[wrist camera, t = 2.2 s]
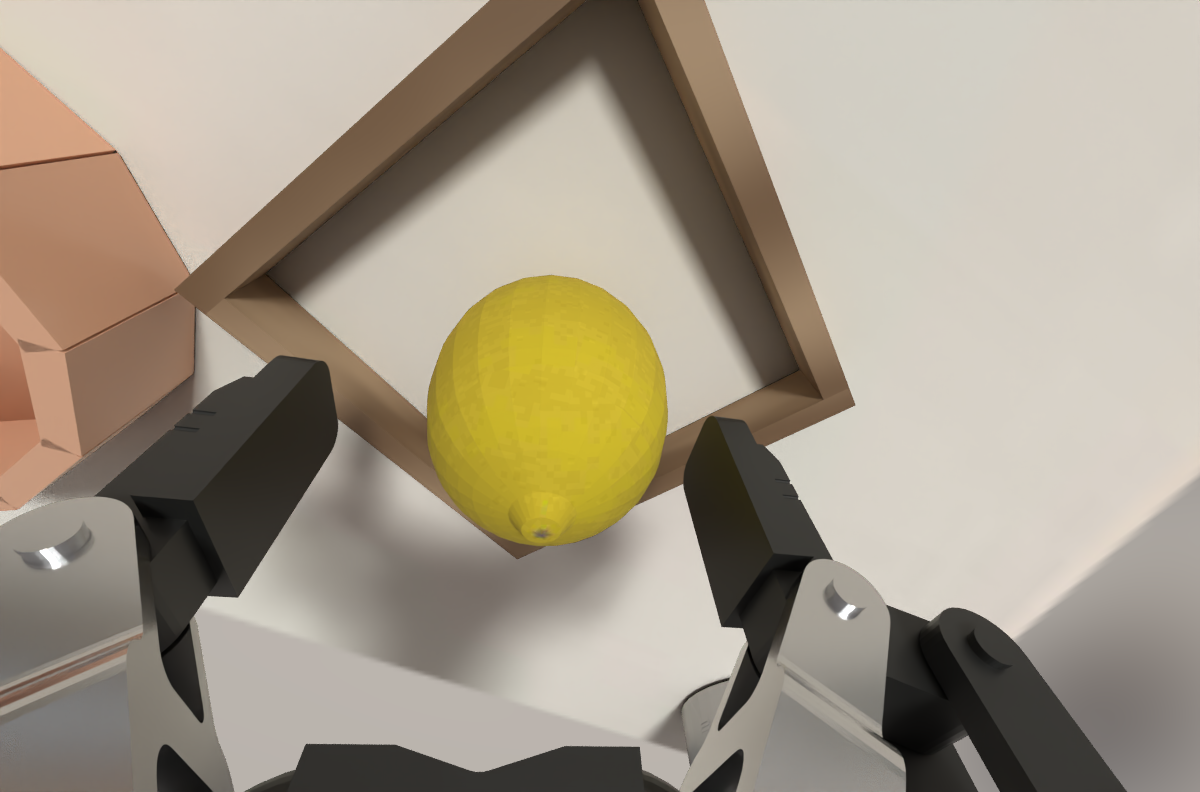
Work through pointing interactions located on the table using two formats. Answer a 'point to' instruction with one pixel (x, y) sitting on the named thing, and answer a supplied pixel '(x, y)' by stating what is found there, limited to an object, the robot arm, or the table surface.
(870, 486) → the table surface
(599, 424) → the lemon
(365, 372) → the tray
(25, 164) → the bowl
